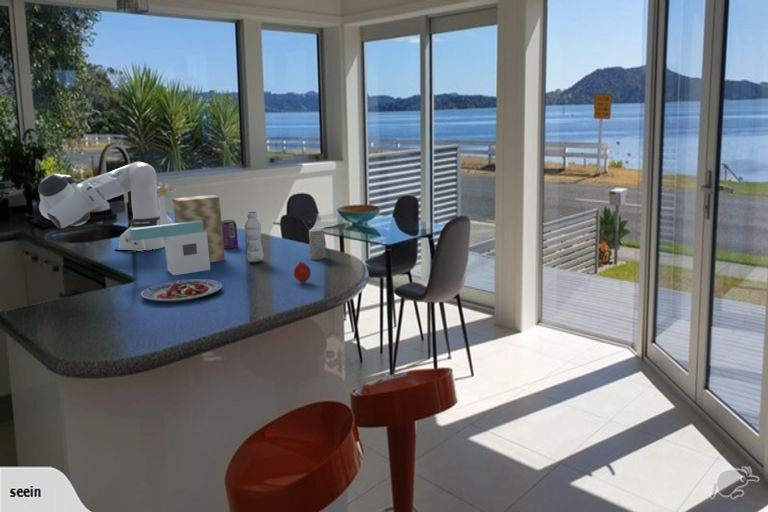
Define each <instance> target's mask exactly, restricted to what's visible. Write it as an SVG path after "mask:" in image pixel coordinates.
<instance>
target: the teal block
mask: <svg viewBox="0 0 768 512" xmlns="http://www.w3.org/2000/svg"><path fill="white" fill-rule="evenodd" d="M197 232H204V230H203V221H200V220H197V221H189V222H181V223H175V222H173V223H172V224H164V225H156V226H148V227H140V228H131V229H130V235H131V240H133V241H137V240H144V239H152V238H159V237H163V238H164V237H167V236H175V235H182V234H190V233H197Z"/></svg>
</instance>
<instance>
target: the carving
mask: <svg viewBox="0 0 768 512" xmlns="http://www.w3.org/2000/svg"><path fill="white" fill-rule="evenodd" d="M308 240H309V256H310V259H311V260H314V261H318V260H323V259H324V258H325V256H326V250H325V249H326V246H325V244H326V242H325V231H324V229H323V228H312V229H309V230H308Z"/></svg>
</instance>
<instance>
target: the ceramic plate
mask: <svg viewBox="0 0 768 512" xmlns="http://www.w3.org/2000/svg"><path fill="white" fill-rule="evenodd" d="M222 288H223V284H222V283H221V282H220V281H217V280H215V279H206V278H205V279H204V278H203V279H202V278H191V279H189V278H188V279H180V280H173V281H167V282H163V283H158V284H155V285H152V286H149V287H147V288H146V289H143V290H142V291H141V297H142V298H144V299H145V300H146V299H147V300H150V301H161V302H167V303H168V302H169V303H173V302H176V303H177V302H185V301H192V300H196V299H201V298H203V297H206V296H208V295H212V294H214V293H216V292H218V291H219V290H220V289H222Z"/></svg>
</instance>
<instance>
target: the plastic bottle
mask: <svg viewBox="0 0 768 512" xmlns="http://www.w3.org/2000/svg"><path fill="white" fill-rule="evenodd" d="M246 215H247V216H246V218H247V220H246V222H245V223H244V230H245V234H246V241H247V253H246V257H247V261H248V262H249V263H258V262H262V261H263V260H264V255H265V254H264V251H263V246H262V236H261V235H262V234H261V231H262V224H261V222H260V221H259V220H258V218H257V217H258V213H257V212H256V211H249V212H247V213H246Z"/></svg>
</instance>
